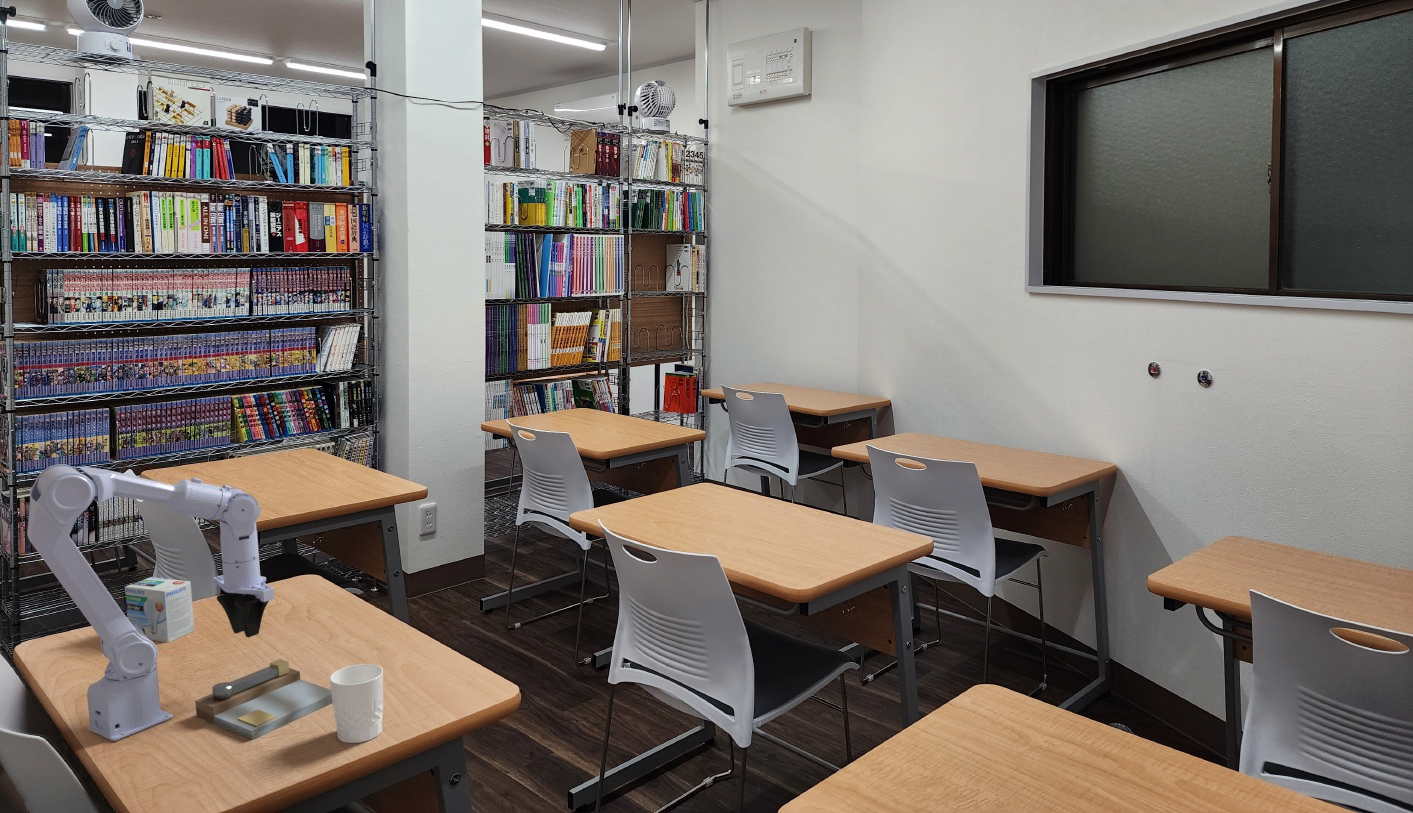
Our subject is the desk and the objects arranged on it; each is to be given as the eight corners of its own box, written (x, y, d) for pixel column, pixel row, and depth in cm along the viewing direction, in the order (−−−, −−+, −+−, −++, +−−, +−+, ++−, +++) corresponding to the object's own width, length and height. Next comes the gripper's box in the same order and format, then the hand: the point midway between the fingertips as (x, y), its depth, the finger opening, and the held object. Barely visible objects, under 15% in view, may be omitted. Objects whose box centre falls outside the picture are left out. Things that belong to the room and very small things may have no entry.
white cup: (334, 726, 151) (330, 668, 149) (385, 718, 153) (382, 660, 152) (333, 749, 143) (329, 688, 142) (387, 740, 146) (383, 680, 145)
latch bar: (220, 701, 153) (219, 690, 152) (209, 697, 154) (208, 686, 154) (290, 672, 164) (289, 662, 163) (279, 669, 165) (278, 658, 165)
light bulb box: (127, 637, 189) (122, 586, 187) (155, 625, 195) (151, 575, 194) (169, 643, 186) (164, 591, 184) (196, 630, 192) (192, 580, 191)
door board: (252, 739, 146) (251, 721, 146) (196, 717, 154) (195, 699, 154) (338, 700, 160) (337, 683, 160) (283, 681, 168) (281, 665, 167)
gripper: (287, 558, 161) (292, 633, 163) (236, 546, 168) (242, 618, 170) (250, 569, 155) (255, 647, 157) (198, 556, 162) (205, 631, 164)
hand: (246, 633), depth 163 cm, fingers open, 3 cm apart
